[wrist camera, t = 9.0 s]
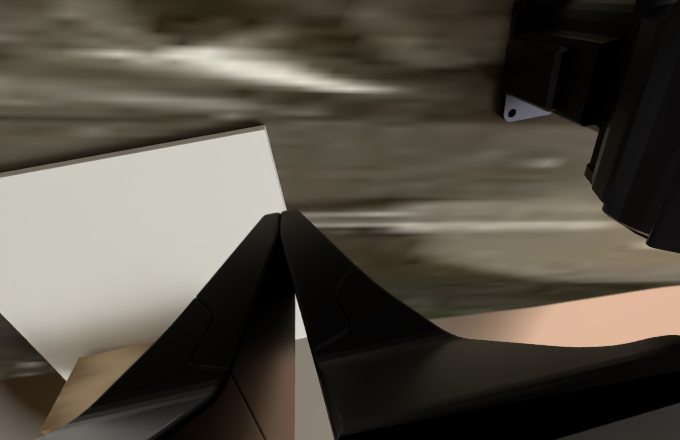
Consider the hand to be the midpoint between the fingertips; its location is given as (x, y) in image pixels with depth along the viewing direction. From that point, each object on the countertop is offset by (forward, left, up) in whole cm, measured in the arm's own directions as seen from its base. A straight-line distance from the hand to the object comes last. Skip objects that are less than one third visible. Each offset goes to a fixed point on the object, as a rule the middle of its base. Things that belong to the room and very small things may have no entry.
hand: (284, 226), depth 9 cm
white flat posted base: (+10, +9, -12) cm, 19 cm away
